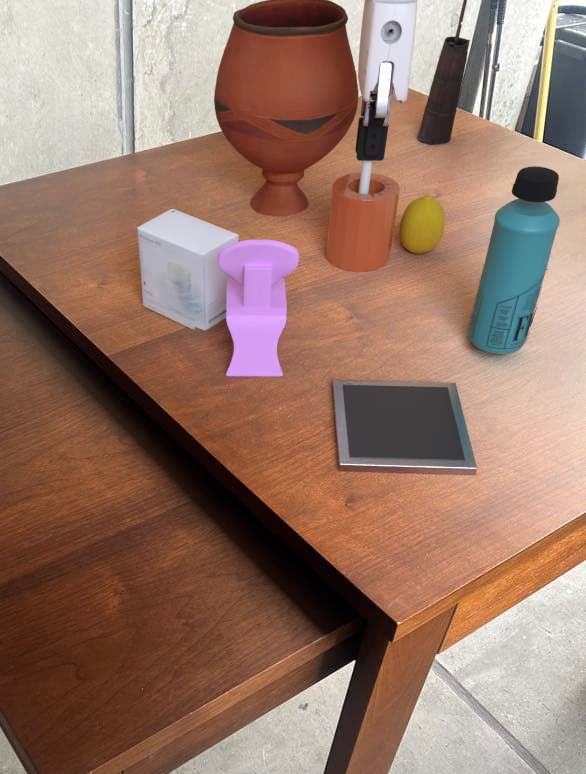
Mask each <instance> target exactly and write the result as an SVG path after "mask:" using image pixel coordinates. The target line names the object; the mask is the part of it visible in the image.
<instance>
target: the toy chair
mask: <svg viewBox="0 0 586 774" xmlns="http://www.w3.org/2000/svg"><path fill="white" fill-rule="evenodd" d="M299 262H300V253H299V251H298V249H297V248H296V247H294V246H293V245H291V244H288V243H286V242H282V241H280V240H273V239H246V240H239V242H236V243H233V244H230V245H228V246H226V247H224V248H222V249H221V250H220V252H219V253H218V265H219V268H220V269H221V271H222V272H224V273H225V274H227V275H229V276H230V277H231V278H233V279H227V307H226V318H225V321H226V325H227V328H228V331H229V332H230V334H231V339H232V342H233V352H232V357H231V360H230V363H229V365H228V368H227V370H226V371H225V372H226V373H225V376H226V377H284V373H283V372H284V371H283V370H282V367H281V364H280V361H279V357H278V343H279V340H280V337H281V336H282V332H283V330H284V329H285V326H286V324H287V311H288V305H287V304H288V303H287V294H286V279H285V277H287V276H288V275H290V274H292V273H293V272H294V271H295V270H296V269H297V267H298V266H299Z"/></svg>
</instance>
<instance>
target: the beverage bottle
mask: <svg viewBox="0 0 586 774" xmlns="http://www.w3.org/2000/svg"><path fill="white" fill-rule="evenodd" d="M559 181H560V175H559V173H558V172H557V171H556V170H554V169H551V168H548V167H544V166H538V165H537V166H536V165H535V166H526V167H523V168H521V169H519V171H518V172H517V174H516V177H515V180H514V183H513V184H512V189H511V194H512V195H513V196H514V197H515V198H516V199H513V200H511V201H508V203H506V204H504V205H502V206H501V207H500V208H499V209H498V210H497V211H496V212H495V215H494V222H493V226H492V229H491V235H490V239H489V242H488V247H487V250H486V251H487V252H486V255H485V260H484V263H483V265H482V268H481V270H480V271H481V273H480V278H479V282H478V285H477V292H476V293H475V295H474V302H473V306H472V308H473V309H472V311H471V313H470V317H469V318H470V321H469V323H468V324H469V325H468V332H467V333H468V338H469V341H470V343H471V344H472V345H474V347H476V348H477V349H479V350H482V351H485V352H487V353H491V354H500V355H501V354H502V355H506V354H513V353H516V352H518V351H520V350H521V349H522V348H523V347H524V345H525V344H526V343H527V341H528V340H529V334H530V333H531V330H530V329H532V324H533V323H534V319H535V315H536V312H537V309H538V304H539V302H538V301H539V300H540V299H541V297H540V295H541V291H542V289H543V283H544V279H545V276H546V273H547V271H548V270H549V268H548V266H549V262H550V261H551V259H552V258H551V254H552V249H553V246H554V242H555V238H556V234H557V231H558V228H559V227H560V223H561V222H560V221H561V219H560V216H559V215H558V213H557V211H556V210H555V209H554V208H553V207H552V205H550V203H548V202H550V201H553V200H554V199H556V195H557V192H558V185H559Z"/></svg>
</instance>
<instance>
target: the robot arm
mask: <svg viewBox="0 0 586 774" xmlns="http://www.w3.org/2000/svg"><path fill="white" fill-rule="evenodd" d="M417 12H418V0H364V3H363V11H362V19H361V28H360V39H359V48H358V49H359V50H358V65H357V74H358V75H357V81H358V85H359V86H358V87H359V91H360V96H361V98H362V100H361V108H360V117H358V123H357V124H358V125H357V132H356V140H355V148H354V150H355V153H356V155H355V156H356V160H357V161H361V162H362V161H373V162H381V161H383V160H384V159H385V155H386V148H387V140H388V132H389V119H390V112H391V108H392V107H391V106H392V99H393V93H394V95H395V99H396V101H397V102H399V103H400V104H404V103H405V102H406V101H407V100H408V96H409V95H408V94H409V86H410V79H411V69H412V63H413V62H412V61H413V55H414V54H413V52H414V46H415V36H416V35H415V34H416V27H417V14H418V13H417ZM370 108H371V109H370Z"/></svg>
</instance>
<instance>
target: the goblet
mask: <svg viewBox="0 0 586 774" xmlns="http://www.w3.org/2000/svg"><path fill="white" fill-rule="evenodd" d="M232 20H233V23H232V27H231V29H230V32H229V36H228V38H227V40H226V41H227V42H226V44H225V46H224V49H223V53H222V56H221V60H220V63H219V66H218V70H217V75H216V81H215V85H214V86H215V88H214V96H213V105H214V111H215V117H216V121H217V123H218V126H219V128H220V130H221V132H222V133H223V135H224V137H225V139H226V140H227V141H228V143H229V144H230V145H231V146H232V148H233V149H234V150H235V151H236V152H237V153H238V155H239V154H240V155H241V156H242V157H243V158H244V159H245V160H247V161H248V162H249V163H251V164H252V165H253V166H256V167H257V168H258V169H260V170H261V169H262V170H261V175H262V176H263V178H264V179H265V182H264V184H262V186H261V187H260V188H259V189H258V190H257V192H255V194H254V195H253V196H252V198H251V200H250V202H249V205H250V207H251V209H252V210H253V211H254V212H255V213H258V214H260V215H263V216H269V217H279V218H281V217H289V216H295V215H297V214H300V213H303V212H304V211H306V210H307V209H308V207H309V199H308V198H307V196H306V195H305V193H304V192H303V190H302V189H301V188H300V187H299V185H298V182H300V181H301V180H302V179H303V178H304V177H305V170H307V169H308V168H310V167H312V166H314V165H315V164H317V163H318V162H320V161H322V160H323V158H325V157H326V156H328V155H329V154H330V153H331V152H332V151H333V150H334V149H335V148H336V147H337V145H339V144H340V142H341V141H342V140H343V139H344V138H345V136H346V134H347V133H348V131H349V130H350V128H351V126H352V124H353V122H354V120H355V119H356V114H357V110H358V106H359V86H358V85H359V83H358V75H357V71H356V67H355V62H354V57H353V53H352V48H351V45H350V40H349V36H348V31H347V23H348V20H349V16H348V13H347V11H346V9H345V8H344V7H343V6H341V5H339V4H338V3H335V2H333V1H332V0H262V1H259V2H254V3H252V4H249V5H247V6H245V7H243V8H241V9H237V10H236V11H234V12H233V15H232Z"/></svg>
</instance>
